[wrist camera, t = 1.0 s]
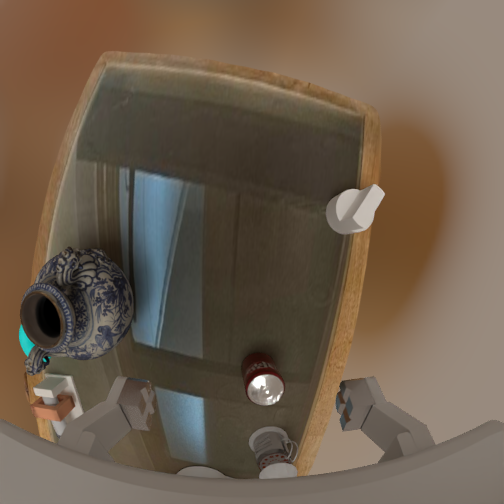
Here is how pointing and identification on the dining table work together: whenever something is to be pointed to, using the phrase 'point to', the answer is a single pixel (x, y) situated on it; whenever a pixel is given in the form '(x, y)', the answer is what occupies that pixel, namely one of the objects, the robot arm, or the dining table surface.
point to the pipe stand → (49, 393)
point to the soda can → (262, 379)
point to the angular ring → (53, 408)
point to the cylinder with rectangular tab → (353, 209)
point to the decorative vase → (76, 308)
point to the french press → (272, 453)
